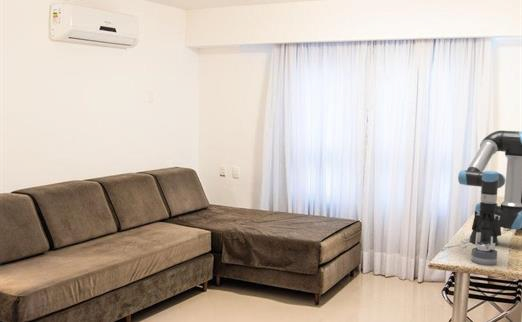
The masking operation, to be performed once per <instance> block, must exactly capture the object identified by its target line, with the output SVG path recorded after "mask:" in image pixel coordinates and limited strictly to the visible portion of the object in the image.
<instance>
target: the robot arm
mask: <svg viewBox="0 0 522 322" xmlns="http://www.w3.org/2000/svg"><path fill="white" fill-rule="evenodd" d="M497 152H504V156H505V157H506V158H507V162H506V173H505V176H504V174H502V173H499V172H497V171H495V170H485V169H486V167H487V165H488V164H489V162H490V160H491V159H492V157H493V155H495V154H497ZM457 179H458V183H459V184H460V185H464V186H472V187H473V186H474V187H478V188H479V187H480V190H481V191H480V202H478V203H477V204H475V206H474V207H475V208H474V217H473V222H472V225H471V226H472V227H471V230H472V231H471V233H470V236H469V242H470V243H472V244H475V246H477V243H478V242H489V243H490V249H491V250H492V249H493V250H496V246H497V245H498V244H499V239H498V237H500V236H502V228H505V229H510V230H521V229H522V130H521V131H520V130H519V131H515V130H514V131H513V130H496V131H494V132H492V133H489V134H488V135H487V136H485V137H484V138H483V139H482V140H481V142H480V144H479V149H478V151H477V152H476V154H475V156H474V158H473V159H472V161H471V162H470V164H469V165H468V167H467V169H466V170H465V169H464V170H463V169H462V170H460V171H459V173H458V177H457ZM503 186H504V198H503V199H504V200H503V201H502V202H501V203H500V205H498V203H497V200H498V189H500V188H502V187H503Z"/></svg>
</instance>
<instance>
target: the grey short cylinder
mask: <svg viewBox="0 0 522 322" xmlns="http://www.w3.org/2000/svg"><path fill="white" fill-rule="evenodd" d="M470 260H471V263H473V264H477V265H479V266H480V265H481V266H488V267H489V266H496V265H497V264H498V250H496V249H492V250H491V249H490V252H481V251H478V250H477V246H476V247H472V250H471V258H470Z"/></svg>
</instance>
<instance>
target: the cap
mask: <svg viewBox="0 0 522 322" xmlns="http://www.w3.org/2000/svg"><path fill="white" fill-rule="evenodd" d="M476 247H477V250H478V251H481V252H490V243H489V242H478V243H477V245H476Z"/></svg>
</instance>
